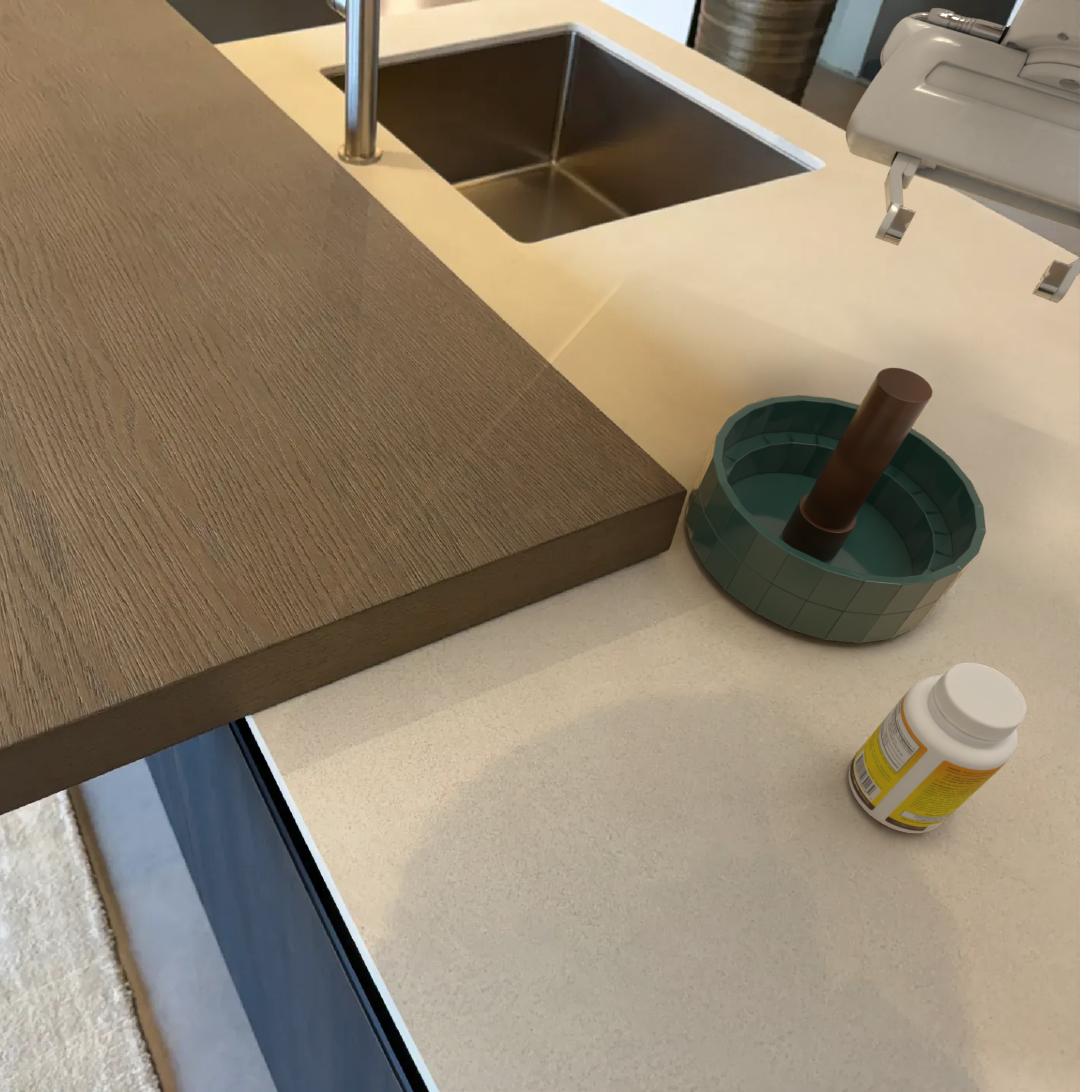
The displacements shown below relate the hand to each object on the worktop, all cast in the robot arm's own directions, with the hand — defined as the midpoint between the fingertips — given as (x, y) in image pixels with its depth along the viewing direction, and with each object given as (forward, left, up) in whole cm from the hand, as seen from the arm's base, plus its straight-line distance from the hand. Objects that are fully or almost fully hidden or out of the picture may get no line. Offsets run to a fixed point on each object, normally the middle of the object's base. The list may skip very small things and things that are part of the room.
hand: (965, 267), depth 62 cm
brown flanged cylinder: (0, +7, -18) cm, 20 cm away
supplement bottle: (-10, +23, -19) cm, 32 cm away
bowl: (0, +7, -19) cm, 20 cm away
